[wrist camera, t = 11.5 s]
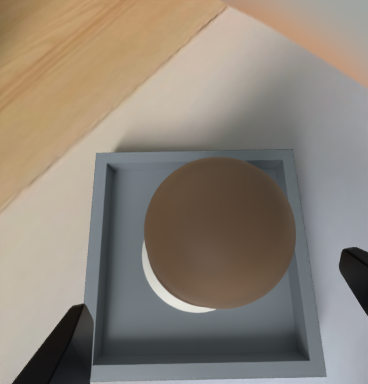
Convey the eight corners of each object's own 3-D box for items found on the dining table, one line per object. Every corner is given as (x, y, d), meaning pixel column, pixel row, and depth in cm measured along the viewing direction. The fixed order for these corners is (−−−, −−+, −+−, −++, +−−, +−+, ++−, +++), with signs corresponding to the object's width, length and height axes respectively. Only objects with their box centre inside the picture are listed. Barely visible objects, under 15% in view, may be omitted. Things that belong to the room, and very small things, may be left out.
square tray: (307, 361, 17) (326, 376, 14) (91, 366, 17) (77, 382, 14) (280, 162, 21) (292, 149, 18) (105, 165, 21) (96, 152, 18)
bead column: (253, 269, 18) (433, 268, 5) (182, 314, 17) (177, 451, 4) (210, 200, 19) (263, 61, 6) (142, 238, 18) (47, 167, 6)
